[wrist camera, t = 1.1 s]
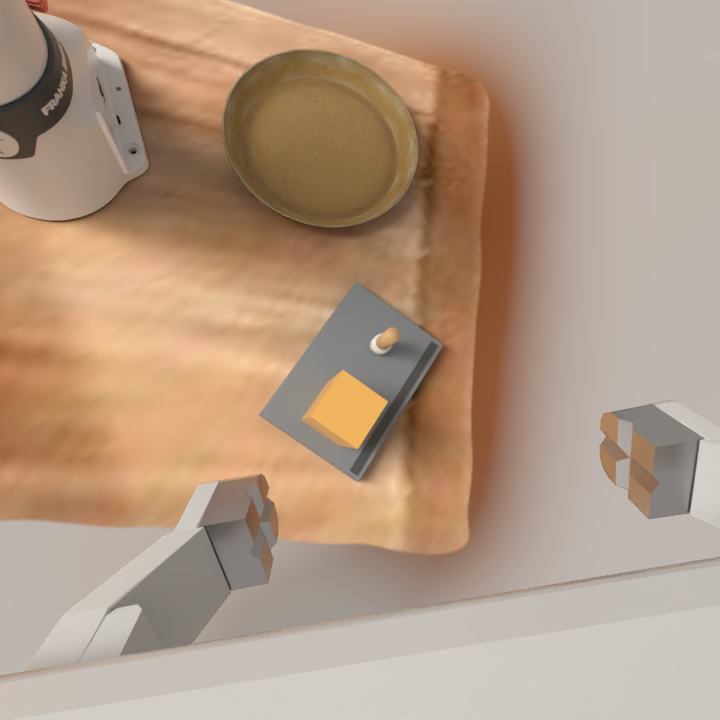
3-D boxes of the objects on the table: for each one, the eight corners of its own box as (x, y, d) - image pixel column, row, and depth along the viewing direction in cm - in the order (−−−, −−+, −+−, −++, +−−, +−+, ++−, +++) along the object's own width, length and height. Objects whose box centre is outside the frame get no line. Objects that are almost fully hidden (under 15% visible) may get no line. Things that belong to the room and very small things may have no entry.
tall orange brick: (301, 419, 45) (310, 416, 35) (327, 382, 46) (342, 369, 37) (338, 445, 45) (357, 449, 36) (363, 407, 47) (388, 401, 37)
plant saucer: (214, 224, 49) (211, 209, 46) (233, 51, 53) (231, 27, 50) (408, 250, 54) (417, 238, 51) (411, 90, 58) (419, 71, 55)
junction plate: (354, 480, 47) (371, 489, 39) (259, 415, 46) (258, 411, 38) (436, 348, 52) (466, 333, 44) (352, 287, 51) (368, 261, 43)
